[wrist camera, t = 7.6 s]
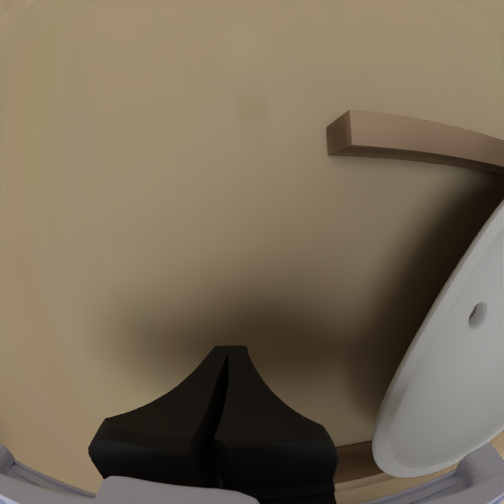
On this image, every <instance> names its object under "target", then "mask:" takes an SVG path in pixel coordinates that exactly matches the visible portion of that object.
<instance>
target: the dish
mask: <svg viewBox="0 0 504 504" xmlns="http://www.w3.org/2000/svg"><path fill="white" fill-rule="evenodd" d="M475 306H476V308H475V311H474V313H473V315H472V316H471V317H470V318H469V316H470V314H471V312H472V310H473V308H474V307H475ZM503 429H504V200H503V201H502V202H501V203H500V204H499V206H498V207H497V208H496V209H495V211H494V212H493V213H492V215H491V216H490V217H489V219H488V220H487V221H486V223H485V224H484V226H483V227H482V229H481V230H480V231H479V233H478V234H477V236H476V237H475V239H474V240H473V241H472V243H471V245H470V246H469V248H468V249H467V251H466V252H465V254H464V255H463V257H462V258H461V260H460V261H459V263H458V265H457V266H456V268H455V269H454V271H453V272H452V274H451V275H450V277H449V278H448V280H447V281H446V283H445V285H444V286H443V288H442V289H441V291H440V293H439V295H438V296H437V298H436V300H435V301H434V303H433V305H432V307H431V309H430V310H429V312H428V314H427V316H426V318H425V320H424V321H423V323H422V325H421V326H420V328H419V330H418V332H417V334H416V335H415V337H414V339H413V341H412V343H411V344H410V346H409V348H408V350H407V351H406V353H405V355H404V357H403V359H402V361H401V363H400V365H399V367H398V369H397V371H396V373H395V375H394V377H393V379H392V381H391V383H390V385H389V387H388V389H387V392H386V394H385V397H384V399H383V402H382V404H381V406H380V409H379V412H378V415H377V418H376V421H375V426H374V430H373V436H372V452H373V457H374V460H375V462H376V464H377V465H378V467H379V468H380V469H381V470H383V471H384V472H385V473H387V474H389V475H391V476H396V477H405V478H406V477H417V476H423V475H426V474H430V473H433V472H436V471H439V470H442V469H444V468H446V467H449V466H451V465H453V464H455V463H457V462H459V461H461V460H462V459H463V458H464V457H465V456H466V455H467V454H469V453H470V452H472V451H474V450H476V449H478V448H480V447H482V446H483V445H485V444H487V443H488V442H489V441H490V440H492V439H493V438H494V437H495V436H497V435H498V434H499V433H500V432H501V431H502V430H503Z"/></svg>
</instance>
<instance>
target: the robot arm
mask: <svg viewBox="0 0 504 504" xmlns="http://www.w3.org/2000/svg"><path fill="white" fill-rule="evenodd" d="M88 452H89V456H90V458H91V460H92V462H93V463H94V465H95V466H96V468H97V469H98V471H99V472H100V474H101V475H102V477H103V478H104V480H103V481H102V483H101V486H100V488H99V490H98V493H97V494H94V493H91V492H88V491H85V490H82V489H79V488H77V487H74V486H71V485H69V484H66V483H64V482H61V481H59V480H56V479H54V478H52V477H49V476H47V475H45V474H43V473H41V472H38V471H36V470H34V469H32V468H30V467H28V466H26V465H24V464H22V463H20V462H18V461H17V460H15V458H14V457H13V455H12V454H11V452H10V451H9V450H8V449H7V448H6V447H5V446H4V445H3V444H1V443H0V504H336V500H335V496H334V493H335V485H334V481H333V479H334V476H335V473H336V470H337V466H338V462H339V456H338V452H337V450H336V447H335V445H334V443H333V441H332V439H331V438H330V436H329V434H328V433H327V431H326V429H325V428H324V426H322V425H320V424H318V423H316V422H314V421H312V420H310V419H308V418H306V417H304V416H302V415H300V414H299V413H297V412H296V411H294V410H293V409H292V408H290V407H289V406H288V405H286V404H285V403H284V402H283V401H281V400H280V399H279V398H278V397H277V396H276V395H275V394H274V393H273V392H272V391H271V390H270V388H269V387H268V386H267V385H266V384H265V382H264V381H263V380H262V378H261V377H260V375H259V374H258V372H257V370H256V369H255V367H254V365H253V363H252V361H251V359H250V357H249V354H248V351H247V347H246V346H215V347H214V348H213V349H212V350H211V352H210V353H209V354H208V355H207V357H206V358H205V359H204V360H203V361H202V363H201V364H200V365H199V366H198V367H197V368H196V369H195V370H194V371H193V372H192V373H191V374H190V375H189V376H188V377H187V378H186V379H185V380H184V381H183V382H181V383H180V384H179V385H178V386H177V387H175V388H174V389H172V390H171V391H170V392H168V393H167V394H165V395H163V396H161V397H160V398H158V399H156V400H154V401H153V402H151V403H149V404H147V405H144V406H142V407H140V408H138V409H135V410H133V411H130V412H127V413H124V414H120V415H117V416H113V417H110V418H105V420H104V421H103V423H102V424H101V426H100V427H99V429H98V431H97V433H96V435H95V436H94V438H93V440H92V442H91V444H90V446H89V447H88ZM503 500H504V460H503V459H502V457H501V456H500V455H499V453H498V452H497V451H496V449H495V448H494V447H493V446H492V444H491V443H487V444H485V445H483V446H482V447H480V448H478V449H476V450H474V451H472V452H470V453H469V454H467V455H466V456H465V457H464V458H463V459H462V460H461V461H460V462H459V464H458V466H457V467H456V469H455V470H453V471H451V472H449V473H446V474H444V475H442V476H440V477H437V478H435V479H433V480H430V481H428V482H425V483H423V484H420V485H418V486H415V487H412V488H409V489H406V490H404V491H401V492H398V493H394V494H391V495H388V496H385V497H381V498H378V499H374V500H370V501H367V502H363V503H358V504H500V503H501V502H502V501H503Z"/></svg>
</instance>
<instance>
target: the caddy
mask: <svg viewBox="0 0 504 504" xmlns="http://www.w3.org/2000/svg"><path fill="white" fill-rule="evenodd" d="M326 129H327V145H328V155H338V156H360V157H376V158H389V159H400V160H410V161H420V162H428V163H436V164H444V165H451V166H457V167H464V168H470V169H476V170H481V171H487V172H492V173H497V174H502V175H504V141H503V140H500V139H497V138H494V137H491V136H487V135H484V134H480V133H477V132H473V131H470V130H466V129H462V128H458V127H454V126H450V125H445V124H441V123H436V122H431V121H426V120H421V119H416V118H410V117H404V116H398V115H391V114H384V113H376V112H367V111H358V110H348V111H347V112H346V113H344V114H343V115H342V116H341V117H339V118H338V119H337V120H335V121H334V122H333V123H332V124H330V125H329V126H328V127H327V128H326ZM336 450H337V452H338V456H339V462H338V466H337V470H336V473H335V476H334V479H333V481H334V485H335V492H339V491H344V490H349V489H354V488H358V487H363V486H367V485H371V484H374V483H378V482H382V481H385V480H389V479H392V478H395V477H396V476H391V475H389V474H387V473H385V472H384V471H383V470H381V469H380V468H379V467H378V465H377V464H376V462H375V460H374V457H373V452H372V441H369V442H365V443H360V444H355V445H350V446H345V447H339V448H336Z"/></svg>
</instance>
